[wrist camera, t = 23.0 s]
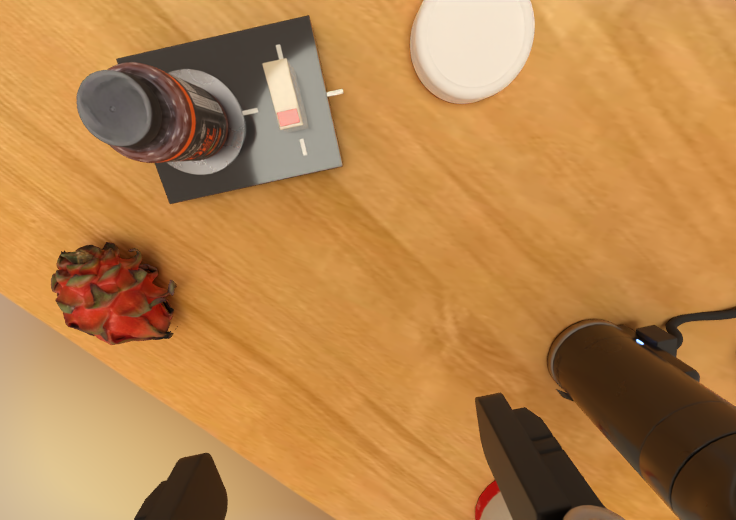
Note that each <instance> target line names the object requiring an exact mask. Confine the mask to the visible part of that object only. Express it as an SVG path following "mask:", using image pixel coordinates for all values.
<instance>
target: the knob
mask: <svg viewBox="0 0 736 520" xmlns="http://www.w3.org/2000/svg"><path fill="white" fill-rule="evenodd" d="M262 65H263V69H264V72H265V76H266V80H267V84H268V87H269V91H270V95H271V99H272V102H273V106H274V110H275V113H276V117H277V121H278V125H279V128H280V130H282V131H286V132H289V133H291V132H295V131H300V130H304V129H309V124H308V120H307V116H306V112H305V108H304V104H303V100H302V96H301V91H300V87H299V83H298V79H297V75H296V71H295V70H294V68H293V67H292V66H291V64H290V63H289V61H288V60H287V58H284V59H279V60H275V61H271V62H266V63H263V64H262Z"/></svg>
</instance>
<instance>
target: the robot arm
mask: <svg viewBox="0 0 736 520" xmlns="http://www.w3.org/2000/svg"><path fill="white" fill-rule="evenodd" d="M731 318H736V308H735V309H731V310H725V311H716V312H700V313H693V314H685V315H680V316H677V317H674V318H672V319H671V320H670V321H669V322H668V323H667V324H666V330H667V332H668V333H667V332H665V331H664V330H662V329H660V328H659V327H657V326H655V325H652V326H648V327H643V328H638V329H636V332H635V331H633V330H632V329H630V328H629V327H627V326H626V325H619V326H616V325H614V324H613V323H610V322H608V321H605V320H599V319H592V320H585V321H581V322H578V323H576V324H574V325H572V326H570V327H569V328H567V329H566V330H564V331H563V332H562V333H561V334H560V335H559V336H558V337H557V338H556V340H555V341H554V343H553V344H552V346H551V348H550V351H549V354H548V369H549V372H550V374H551V376H552V378H553V379H554V380H555V381H556V383H557V384H558V385H559V386H560V387H561V388H562V389H564V390H565V391H566V392H567V393H565V392H563V391H560V390H557V389H556V390H557V391H558V392H559V393H560V394H561V396H562V397H564V398H566V399H569V400H571V401H574V402H575V403H576V404H577V405H578V406H579V407H580V408H581V410H582V411H583V412H584V413H585V414H586V415H587V416H588V417H589V419H590V420H591V421H592V422H593V423H594V424H595V425H596V426H597V427H598V429H599V430H600V431H601V432H602V433H603V434H604V435H605V436H606V438H607V439H608V440H609V441H610V442H611V443H612V444H613V445H614V447H615V448H616V449H617V450H618V451H619V452H620V453H621V454H622V456H623V457H624V458H625V459H626V460H627V461H628V462H629V463H630V465H631V466H632V467H633V468H634V469H635V470H636V471H637V472H638V473H639V475H640V476H641V477H642V478H643V479H644V480H645V481H646V482H647V483H648V485H649V486H650V487H651V488H652V489H653V490H654V491H655V492H656V494H657V495H658V496H659V497H660V498H661V499H662V500H663V501H664V503H665V504H666V505H667V506H668V507H669V508H670V509H671V510H672V511H673V513H674V514H675V515H676V516H677V517H678V518H679V519H680V520H736V407H735V406H734V405H732V404H731V403H729V402H728V401H726V400H725V399H723V398H722V397H720V396H719V395H717V394H716V393H714V392H713V391H711V390H710V389H708V388H707V387H705V386H704V385H702V384H701V383H699V380H700V376H699V373H698V372H697V371H696V370H695V369H693V368H691V367H690V366H688V365H687V364H685V363H684V362H682V361H681V360H679V359H677V358H676V354H677V349H678V348H679V347H680V346H681V344H682V342H683V337H682V334H681V332H680V331H679V330H678V329H677V327H678V326H679V325H681V324H682V323H685V322H690V321H701V320H722V319H731ZM475 404H476V411H477V417H478V424H479V431H480V438H481V443H482V447H483V451H484V454H485V457H486V460H487V462H488V465H489V467H490V469H491V471H492V474H493V476H494V478H495V480H496V483H497V485H498V487H499V490H500V492H501V494H502V496H503V499H504V501H505V503H506V505H507V508H508V510H509V512H510V515H511V517H512V519H513V520H625V519H624V518H622V517H621V516H619V515H618V514H616V513H614V512H612V511H610V510H608V509H607V508H606V507H605V506H604V505H603V504H602V503H601V502H600V500H599V499H598V498H597V496H596V495H595V493H594V492H593V490H592V489H591V488H590V486H589V485H588V483H587V482H586V481H585V479H584V478H583V476H582V475H581V474H580V472H579V471H578V469H577V468H576V467H575V465H574V464H573V462H572V461H571V460H570V458H569V457H568V455H567V454H566V453H565V451H564V450H562V448H561V446H560V444H559V443H558V441H557V440H556V439H555V437H553V435H552V433H551V431H550V430H549V429H548V427H547V426H546V424H545V423H544V422H543V420H542V419H541V418H540V417H538V416H537V415H535V414H534V413H532V412H531V411H530V410H528V409H527V408H525V407H524V408H519V409H514V410H512V409H511V407H510V405H509V404H508V402H507V401H506V399H505V397H504V396H503V394H502V393H496V394H491V395H486V396H481V397H476V398H475ZM227 501H228V500H227V493H226V489H225V487H224V485H223V482H222V480H221V478H220V475H219V473H218V470H217V468H216V466H215V464H214V461H213V459H212V457H211V455H210V454H209V453H203V454H198V455H194V456H189V457H184V458H181V459H179V460H178V462H177V463H176V465H175V467H174V468H173V470H172V472H171V474H170V476H169V477H168V479H167V481H163V482H161V484H159V486H158V487H157V488H156V489H155V490H154V491H153V492H152V493H151V494H150V495H149V496H148V497H147V498H146V499H145V501H144V503H143V504H142V506H141V508H140V510H139V511H138V513H137V515H136V516H135V518H134V520H224V519H225V516H226V512H227Z"/></svg>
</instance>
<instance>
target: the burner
mask: <svg viewBox="0 0 736 520" xmlns="http://www.w3.org/2000/svg"><path fill="white" fill-rule="evenodd" d="M169 74H171V75H173V76H175V77H178V78H180V79H182V80H185V81H187V82H189V83H191V84H194V85H196V86H198V87H200V88H202V89H204V90H206V91H207V92H209V93H210V94H212V95H213V96H214V97H215V98H216V99H217V100H218V101H219V103H220V104H221V106H222V107H223V109H224V111H225V114H226V116H227V121H228V134H227V138H226V141H225V143H224V145H223V147H222V148H221V149H220V150H219V151H218V152H217V153H216V154H215V155H213V156H211V157H209V158H207V159H203V160H198V161H178V162H166V163H168V164H169V165H171V166H172V167H174V168H176V169H178V170H180V171H182V172H185V173H189V174H195V175H205V174H212V173H215V172H218V171H220V170H222V169H224V168H226V167H227V166H229V165H230V164H231V163H232V162H233V161H234V160H235V158H236V157H237V156H238V154H239V153H240V150H241V148H242V146H243V142H244V138H245V120H244V116H243V113H242V109H241V106H240V104H239V102H238V100H237V99H236V97H235V96H234V94H233V93H232V92H231V90H230V89H229V88H228V87H227V86H226V85H225V84H224V83H222V82H221V81H220V80H218V79H217V78H215V77H213V76H212V75H210V74H207V73H205V72H202V71H199V70H193V69H180V70H175V71H172V72H169Z"/></svg>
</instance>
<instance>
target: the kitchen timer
mask: <svg viewBox="0 0 736 520" xmlns="http://www.w3.org/2000/svg"><path fill="white" fill-rule="evenodd" d="M475 519H476V520H513V519H512V517H511V515H510V512H509V510H508V508H507V505H506V503H505V501H504V499H503V496H502V494H501V492H500V490H499V487H498V485H497V483H496V480H495V481H494V482H493V483H491V484H490V485H489V486H488V487H487V488H486V489H485V490H484V492H483V493H482V494H481V496H480V497H479V500H478V503H477V505H476V508H475Z"/></svg>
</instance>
